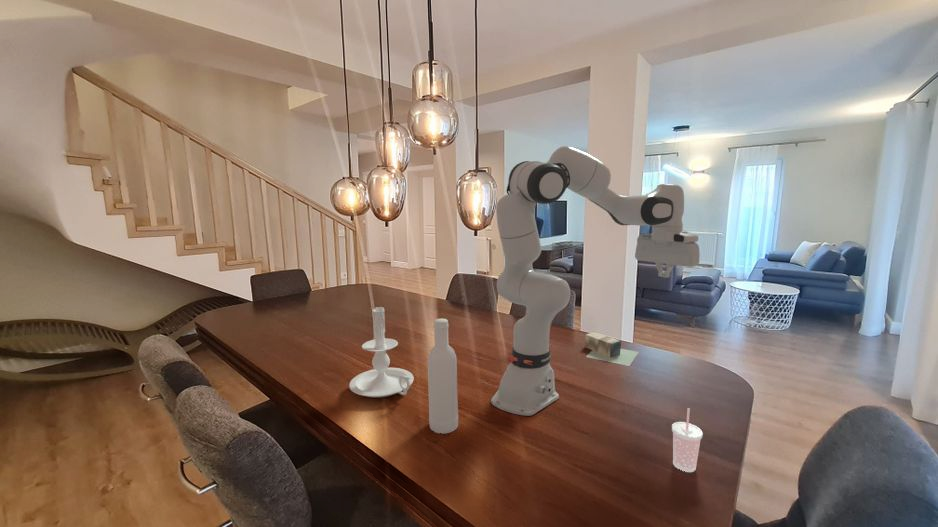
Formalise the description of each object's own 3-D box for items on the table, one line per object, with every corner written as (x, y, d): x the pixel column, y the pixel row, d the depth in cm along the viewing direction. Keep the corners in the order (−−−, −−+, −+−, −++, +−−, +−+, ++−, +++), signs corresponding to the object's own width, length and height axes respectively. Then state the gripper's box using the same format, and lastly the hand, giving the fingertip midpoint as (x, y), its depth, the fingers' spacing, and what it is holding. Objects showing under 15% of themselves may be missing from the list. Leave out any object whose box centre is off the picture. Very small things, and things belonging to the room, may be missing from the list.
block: (620, 341, 151) (594, 332, 162) (611, 343, 148) (585, 334, 159) (620, 354, 152) (593, 344, 163) (611, 357, 149) (584, 347, 160)
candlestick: (383, 418, 110) (377, 323, 106) (337, 391, 126) (331, 308, 122) (435, 391, 125) (432, 307, 121) (388, 370, 141) (385, 296, 137)
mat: (629, 367, 141) (629, 366, 141) (585, 357, 150) (585, 356, 150) (638, 353, 154) (638, 352, 154) (598, 345, 163) (598, 344, 163)
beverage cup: (666, 454, 92) (670, 400, 90) (695, 459, 90) (700, 403, 88) (672, 471, 86) (676, 414, 84) (703, 476, 85) (708, 418, 82)
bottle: (461, 431, 103) (459, 323, 98) (432, 436, 101) (428, 326, 96) (454, 415, 111) (451, 314, 106) (427, 420, 108) (423, 317, 104)
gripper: (632, 233, 133) (630, 273, 135) (692, 237, 115) (689, 283, 118) (643, 232, 136) (641, 271, 138) (703, 236, 119) (700, 280, 121)
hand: (663, 276), depth 128 cm, fingers closed
